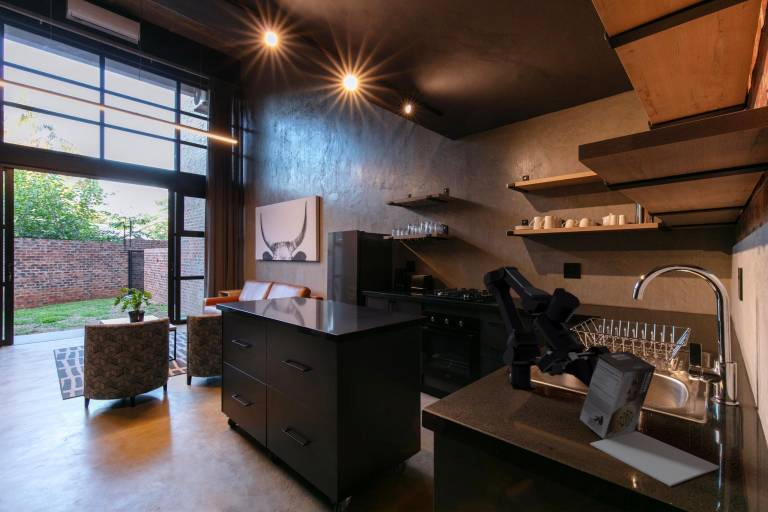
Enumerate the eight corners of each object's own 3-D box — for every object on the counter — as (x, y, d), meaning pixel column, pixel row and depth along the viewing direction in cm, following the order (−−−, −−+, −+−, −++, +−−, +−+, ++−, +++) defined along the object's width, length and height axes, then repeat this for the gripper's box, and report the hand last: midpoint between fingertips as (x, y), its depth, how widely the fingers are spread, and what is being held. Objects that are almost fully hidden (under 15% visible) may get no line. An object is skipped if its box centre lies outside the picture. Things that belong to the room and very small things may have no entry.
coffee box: (607, 412, 80) (627, 350, 76) (634, 433, 74) (658, 366, 70) (577, 418, 77) (597, 353, 73) (604, 440, 71) (626, 371, 67)
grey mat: (590, 444, 69) (590, 443, 69) (636, 432, 75) (636, 431, 75) (670, 486, 56) (670, 484, 56) (719, 468, 62) (719, 466, 62)
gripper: (564, 349, 96) (603, 403, 86) (511, 354, 89) (546, 415, 79) (590, 324, 89) (636, 380, 79) (534, 328, 82) (576, 390, 72)
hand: (598, 392), depth 77 cm, fingers closed, pressing on coffee box
